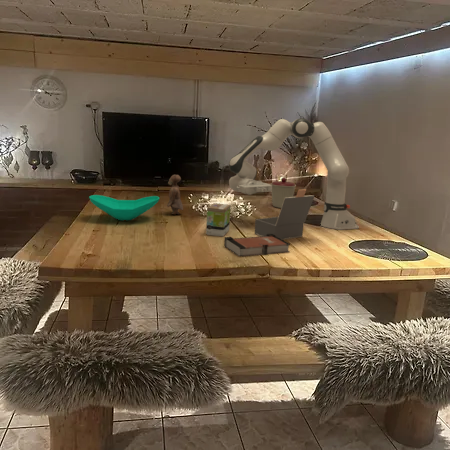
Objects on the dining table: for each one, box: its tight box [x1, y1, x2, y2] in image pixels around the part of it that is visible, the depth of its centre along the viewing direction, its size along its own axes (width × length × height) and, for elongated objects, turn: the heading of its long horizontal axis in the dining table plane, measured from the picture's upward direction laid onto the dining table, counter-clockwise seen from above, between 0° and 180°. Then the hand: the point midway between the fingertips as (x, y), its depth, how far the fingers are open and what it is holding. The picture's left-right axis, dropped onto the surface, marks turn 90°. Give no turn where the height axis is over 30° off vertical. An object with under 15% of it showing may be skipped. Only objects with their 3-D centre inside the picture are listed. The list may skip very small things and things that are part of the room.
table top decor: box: [88, 194, 160, 221], centre depth 254 cm, size 40×28×13 cm
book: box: [223, 234, 291, 257], centre depth 207 cm, size 26×18×5 cm
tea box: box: [205, 202, 232, 237], centre depth 234 cm, size 15×10×15 cm
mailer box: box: [254, 216, 304, 241], centre depth 235 cm, size 20×16×8 cm
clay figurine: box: [166, 174, 184, 215], centre depth 272 cm, size 13×10×25 cm
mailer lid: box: [275, 188, 315, 226], centre depth 222 cm, size 20×20×1 cm
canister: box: [270, 177, 297, 209], centre depth 312 cm, size 18×18×21 cm
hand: (264, 190), depth 241 cm, fingers closed
